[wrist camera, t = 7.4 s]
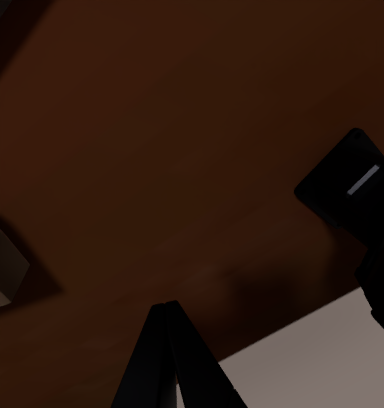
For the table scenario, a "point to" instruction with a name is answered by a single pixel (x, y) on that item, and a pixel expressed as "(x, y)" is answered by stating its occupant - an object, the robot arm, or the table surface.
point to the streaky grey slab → (10, 269)
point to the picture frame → (4, 6)
